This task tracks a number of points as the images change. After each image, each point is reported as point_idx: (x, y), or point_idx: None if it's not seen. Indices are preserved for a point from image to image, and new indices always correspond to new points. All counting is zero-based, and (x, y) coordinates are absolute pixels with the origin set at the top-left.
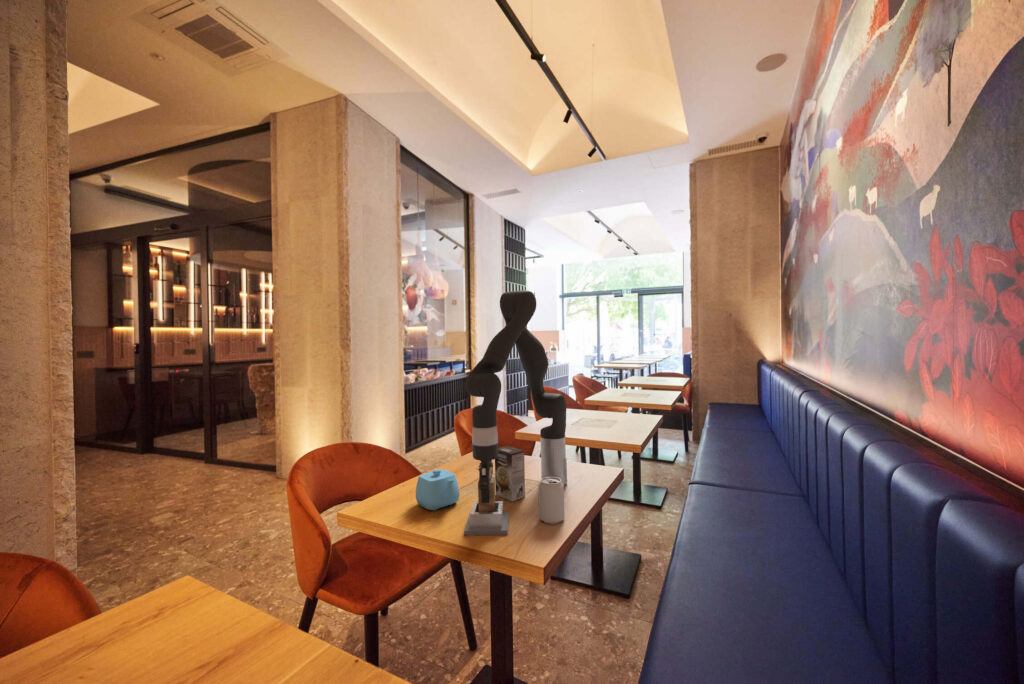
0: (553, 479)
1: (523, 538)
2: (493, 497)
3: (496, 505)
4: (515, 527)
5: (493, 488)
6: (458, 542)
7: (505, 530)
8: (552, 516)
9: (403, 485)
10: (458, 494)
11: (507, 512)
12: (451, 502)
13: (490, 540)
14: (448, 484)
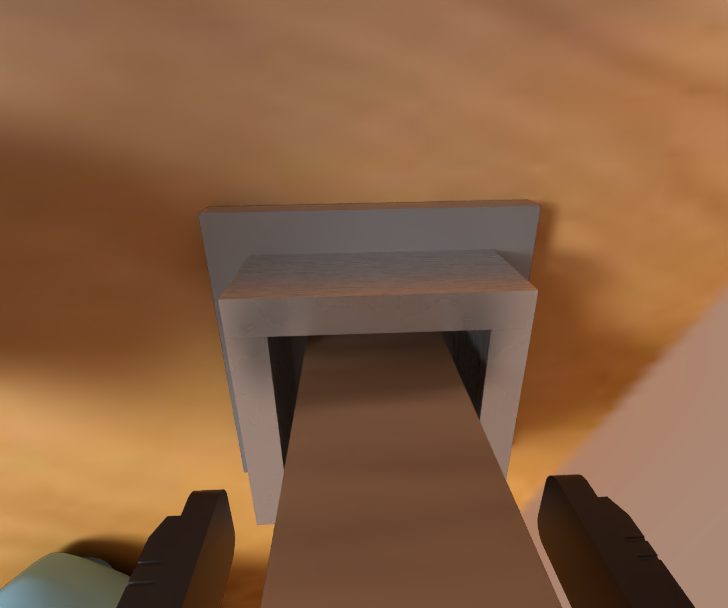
0: None
1: (610, 65)
2: (494, 455)
3: (274, 345)
4: (416, 140)
5: (544, 570)
6: (563, 455)
7: (538, 219)
8: None
9: None
10: (35, 593)
11: (211, 223)
12: (115, 580)
13: (581, 303)
14: None
